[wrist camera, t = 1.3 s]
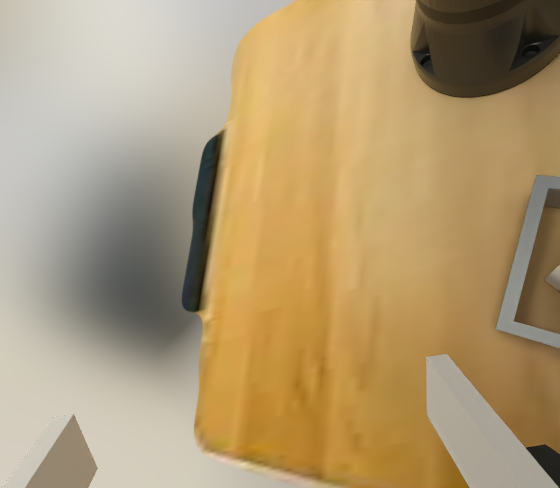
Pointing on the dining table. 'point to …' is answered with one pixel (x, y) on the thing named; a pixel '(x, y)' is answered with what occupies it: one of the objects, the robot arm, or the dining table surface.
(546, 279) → the milk
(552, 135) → the dining table surface
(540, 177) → the housing
